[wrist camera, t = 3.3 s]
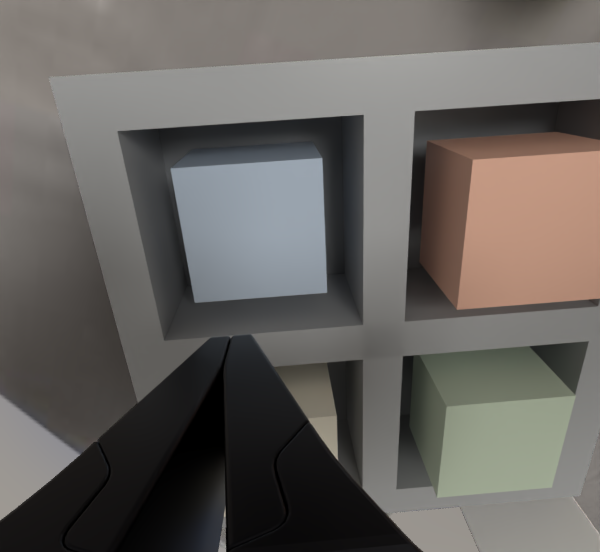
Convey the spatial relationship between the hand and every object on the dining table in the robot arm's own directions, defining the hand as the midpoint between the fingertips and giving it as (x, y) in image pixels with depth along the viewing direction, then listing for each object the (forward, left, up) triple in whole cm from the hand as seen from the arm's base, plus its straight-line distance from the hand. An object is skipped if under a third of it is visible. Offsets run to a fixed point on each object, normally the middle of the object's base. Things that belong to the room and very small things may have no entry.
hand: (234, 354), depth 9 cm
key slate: (0, 0, -11) cm, 11 cm away
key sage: (-9, +9, -9) cm, 16 cm away
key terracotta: (-9, 0, -9) cm, 13 cm away
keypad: (-5, +5, -12) cm, 14 cm away
